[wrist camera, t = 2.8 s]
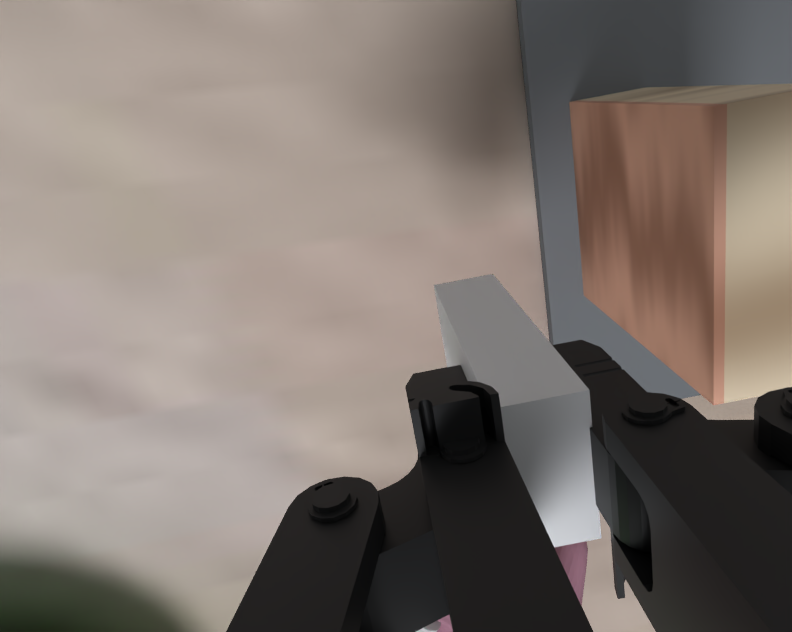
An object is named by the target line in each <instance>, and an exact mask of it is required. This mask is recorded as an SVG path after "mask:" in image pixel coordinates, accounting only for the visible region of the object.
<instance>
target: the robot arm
mask: <svg viewBox="0 0 792 632" xmlns="http://www.w3.org/2000/svg"><path fill="white" fill-rule="evenodd" d="M434 290H435V296H436V302H437V308H438V314H439V320H440V326H441V332H442V338H443V344H444V350H445V356H446V363H447V367H446V368H441V369H436V370H431V371H426V372H420V373H415V374H413V375H412V377H411V378H410V380H409V382H408V383H407V385H406V392H407V397H408V403H409V408H410V413H411V418H412V423H413V428H414V434H415V439H416V444H417V449H418V460H417V462H416V464H415V467H414V468H413V469H412V470H411V471H410V473H409V474H408V475H406V476H405V477H404V478H402V479H401V480H400V481H398V482H396V483H394V484H393V485H391V486H389V487H387V488H384V489H382V490H379V491H377V489H376V488H375V487H374V486H373V484H372V483H370V482H368V481H366V480H363V479H361V478H355V477H339V478H334V479H328V480H325V481H322V482H319V483H317V484H315V485H313V486H310V487H309V488H308V489H306V490H305V491H303V492H302V493H301V494H299V495H298V496H297V497H296V498H295V499H294V501H293V502H292V503H291V505H290V506H289V507H288V509H287V511H286V513H285V515H284V517H283V519H282V521H281V523H280V525H279V527H278V529H277V531H276V533H275V535H274V537H273V539H272V541H271V543H270V545H269V547H268V549H267V551H266V553H265V555H264V557H263V559H262V561H261V563H260V565H259V567H258V569H257V571H256V573H255V575H254V577H253V579H252V581H251V583H250V585H249V587H248V589H247V591H246V593H245V595H244V597H243V599H242V601H241V603H240V605H239V607H238V609H237V611H236V613H235V615H234V617H233V619H232V621H231V623H230V625H229V627H228V629H227V631H226V632H416V631H418V630H420V629H422V628H424V627H426V626H428V625H430V624H432V623H433V622H435V621H437V620H439V619H441V618H443V617H445V616H447V615H450V620H451V625H452V630H453V632H593V630H592V628H591V626H590V624H589V621H588V619H587V617H586V615H585V613H584V611H583V608H582V606H581V604H580V602H579V600H578V598H577V595H576V593H575V591H574V589H573V587H572V585H571V583H570V580H569V578H568V576H567V574H566V572H565V570H564V567H563V565H562V563H561V561H560V559H559V557H558V554H557V552H556V550H555V548H554V547H559V546H564V545H569V544H574V543H580V542H585V541H590V540H595V539H600V538H601V528H600V515H599V510H600V512H601V514H602V515H603V517H604V519H605V520H606V522H607V524H608V525H609V527H610V529H611V543H612V556H613V570H614V584H615V590H616V594H617V598H618V599H620V598H625V592H624V582H625V579H626V580H627V582H628V584H629V585H630V587H631V589H632V591H633V592H634V595H635V596H636V598H637V599H638V601H639V603H640V605H641V606H642V608H643V610H644V612H645V613H646V615H647V617H648V619H649V620H650V622H651V624H652V626H653V627H654V629H655V631H656V632H792V387H787V388H783V389H778V390H774V391H769V392H767V393H765V394H764V395H762V396H760V397H759V398H758V399H757V401H756V403H755V406H754V420H707V419H706V418H705V417H704V416H703V415H702V414H700V413H699V412H698V411H697V410H696V409H695V408H694V407H693V406H691V405H690V404H688V403H687V402H685V401H683V400H682V399H680V398H678V397H674V396H670V395H667V394H663V393H651V392H646V391H645V390H644V389H643V388H642V387H641V386H640V385H639V384H638V383H637V382H636V381H635V380H634V379H633V378H632V377H631V376H630V375H629V374H628V373H627V372H626V371H625V370H624V369H623V370H622V368H621V366H620V365H619V364H618V363H617V362H616V361H615V360H612V357H611V356H609V355H608V354H607V353H606V352H605V351H604V350H603V349H602V348H601V347H599V346H597V345H594V344H592V343H589V342H586V341H584V340H576V341H571V342H566V343H561V344H556V345H552V344H551V343H550V342H549V341H548V340H547V338H546V337H545V336H544V335H543V334H542V332H541V331H540V330H539V329H538V328H537V326H536V325H535V324H534V323H533V322H532V320H531V319H530V318H529V317H528V316H527V314H526V313H525V312H524V311H523V310H522V308H521V307H520V306H519V305H518V304H517V302H516V301H515V300H514V299H513V298H512V296H511V295H510V294H509V293H508V292H507V290H506V289H505V288H504V287H503V286H502V284H501V283H500V282H499V281H498V280H497V278H496V277H495V276H494V275H493V274H490V275H484V276H479V277H474V278H469V279H464V280H458V281H453V282H448V283H443V284H438V285H434Z"/></svg>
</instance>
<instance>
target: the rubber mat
mask: <svg viewBox="0 0 792 632" xmlns="http://www.w3.org/2000/svg"><path fill="white" fill-rule="evenodd" d="M516 3H517V13H518V23H519V34H520V44H521V54H522V64H523V74H524V84H525V95H526V105H527V115H528V125H529V135H530V146H531V156H532V166H533V176H534V186H535V197H536V207H537V217H538V227H539V237H540V248H541V258H542V268H543V278H544V288H545V299H546V309H547V319H548V329H549V339H550V343H551V344H552V345H556V344H561V343H566V342H571V341H576V340H584V341H586V342H589V343H592V344H594V345H597V346H599V347H601V348H602V349H603V350H604V351H605V352H606V353H607V354H608V355H609V356H611V357H612V360H615V361H616V362H617V363H618V364H619V365H620V366H621V368H622V370H623V369H624V370H625V371H626V372H627V373H628V374H629V375H630V376H631V377H632V378H633V379H634V380H635V381H636V382H637V383H638V384H639V385H640V386H641V387H642V388H643V389H644V390H645V391H646V392H651V393H663V394H667V395H670V396H674V397H678V398H680V399H682V398H687V397H692V396H697V395H701V394H700V393H699V392H697V391H696V390H695V389H694V388H693V387H691V386H690V385H689V384H688V383H687V382H685V381H684V380H683V379H682V378H681V377H680V376H678V375H677V374H676V373H675V372H674V371H672V370H671V369H670V368H669V367H668V366H667V365H665V364H664V363H663V362H662V361H661V360H659V359H658V358H657V357H656V356H655V355H654V354H652V353H651V352H650V351H649V350H648V349H646V348H645V347H644V346H643V345H642V344H641V343H639V342H638V341H637V340H636V339H635V338H633V337H632V336H631V335H630V334H629V333H628V332H626V331H625V330H624V329H623V328H622V327H620V326H619V325H618V324H617V323H616V322H615V321H613V320H612V319H611V318H610V317H609V316H607V315H606V314H605V313H604V312H603V311H602V310H600V309H599V308H598V307H597V306H596V305H594V304H593V303H592V302H591V301H590V300H589V299H587V298H586V297H585V296H584V293H583V279H582V266H581V253H580V239H579V226H578V212H577V199H576V186H575V172H574V159H573V146H572V132H571V119H570V106H569V102H572V101H577V100H582V99H587V98H593V97H598V96H603V95H608V94H614V93H619V92H624V91H629V90H635V89H640V88H645V87H682V86H720V85H758V84H792V0H516Z"/></svg>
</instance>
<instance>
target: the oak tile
mask: <svg viewBox="0 0 792 632" xmlns="http://www.w3.org/2000/svg"><path fill="white" fill-rule="evenodd" d="M569 106H570V119H571V132H572V146H573V159H574V172H575V186H576V199H577V212H578V226H579V239H580V253H581V266H582V279H583V293H584V296H585V297H586V298H587V299H589V300H590V301H591V302H592V303H593V304H594V305H596V306H597V307H598V308H599V309H600V310H602V311H603V312H604V313H605V314H606V315H607V316H609V317H610V318H611V319H612V320H613V321H615V322H616V323H617V324H618V325H619V326H620V327H622V328H623V329H624V330H625V331H626V332H628V333H629V334H630V335H631V336H632V337H633V338H635V339H636V340H637V341H638V342H639V343H641V344H642V345H643V346H644V347H645V348H646V349H648V350H649V351H650V352H651V353H652V354H654V355H655V356H656V357H657V358H658V359H659V360H661V361H662V362H663V363H664V364H665V365H667V366H668V367H669V368H670V369H671V370H672V371H674V372H675V373H676V374H677V375H678V376H680V377H681V378H682V379H683V380H684V381H685V382H687V383H688V384H689V385H690V386H691V387H693V388H694V389H695V390H696V391H697V392H699V393H700V394H701V395H702V396H703V397H704V398H706V399H707V400H708V401H709V402H710V403H712V404H713V405H717V404H722V403H727V402H732V401H738V400H743V399H748V398H753V397H758V396H762V395H764V394H765V393H767V392H769V391H774V390H778V389H783V388H787V387H792V84H758V85H720V86H682V87H645V88H640V89H635V90H629V91H624V92H619V93H614V94H608V95H603V96H598V97H593V98H587V99H582V100H577V101H572V102H569Z"/></svg>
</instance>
